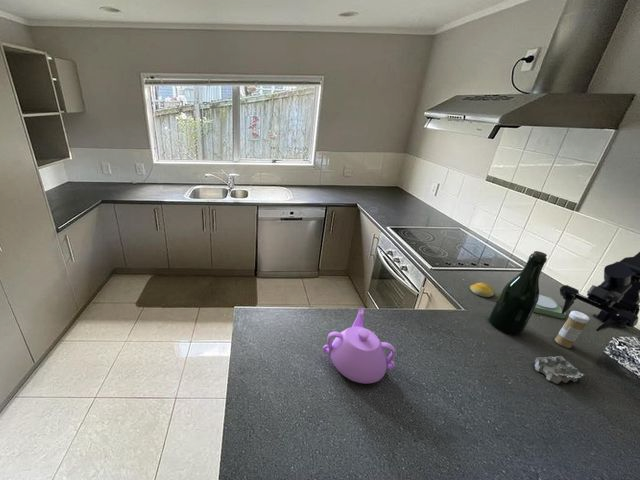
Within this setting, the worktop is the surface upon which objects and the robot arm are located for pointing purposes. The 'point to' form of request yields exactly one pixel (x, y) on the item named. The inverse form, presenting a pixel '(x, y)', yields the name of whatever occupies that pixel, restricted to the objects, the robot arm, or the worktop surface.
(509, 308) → the beer bottle
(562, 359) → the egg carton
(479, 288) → the bread roll
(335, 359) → the teapot
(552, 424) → the worktop surface
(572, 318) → the sprinkles bottle
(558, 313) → the scale
